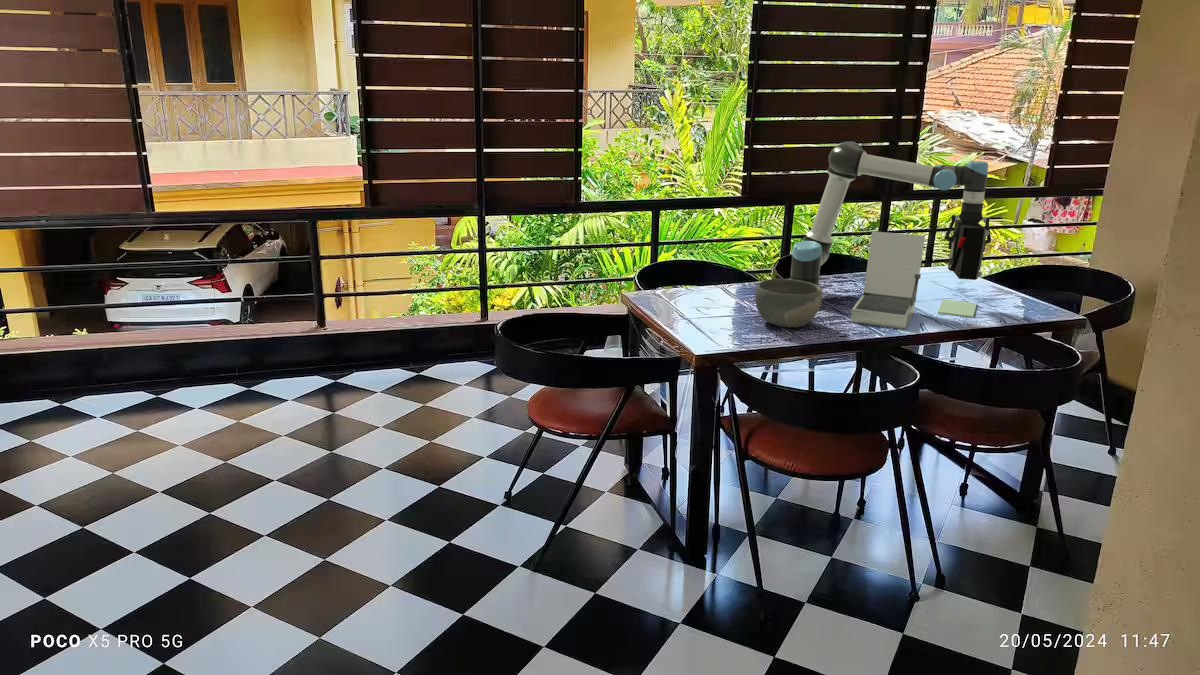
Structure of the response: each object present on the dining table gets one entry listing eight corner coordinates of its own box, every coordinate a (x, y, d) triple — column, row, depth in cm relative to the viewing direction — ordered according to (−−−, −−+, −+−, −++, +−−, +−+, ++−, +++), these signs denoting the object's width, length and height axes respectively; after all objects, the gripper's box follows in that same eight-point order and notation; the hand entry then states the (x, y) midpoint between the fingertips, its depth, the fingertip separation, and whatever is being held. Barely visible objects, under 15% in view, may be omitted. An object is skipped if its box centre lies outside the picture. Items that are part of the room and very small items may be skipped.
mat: (937, 313, 333) (937, 311, 332) (942, 300, 350) (942, 299, 350) (973, 317, 327) (973, 316, 327) (976, 304, 345) (976, 303, 345)
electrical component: (981, 280, 325) (990, 229, 319) (953, 278, 327) (962, 227, 321) (972, 270, 341) (980, 221, 335) (945, 268, 343) (953, 219, 337)
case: (850, 321, 321) (858, 244, 311) (864, 302, 347) (872, 230, 338) (906, 329, 312) (916, 250, 303) (917, 308, 338) (926, 235, 329)
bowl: (821, 336, 304) (825, 296, 299) (753, 332, 308) (755, 292, 303) (817, 317, 327) (820, 279, 322) (753, 313, 331) (756, 276, 326)
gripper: (941, 201, 327) (934, 257, 334) (1003, 205, 318) (995, 263, 324) (943, 198, 333) (936, 254, 340) (1004, 202, 324) (996, 259, 331)
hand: (965, 258), depth 332 cm, fingers open, 9 cm apart
